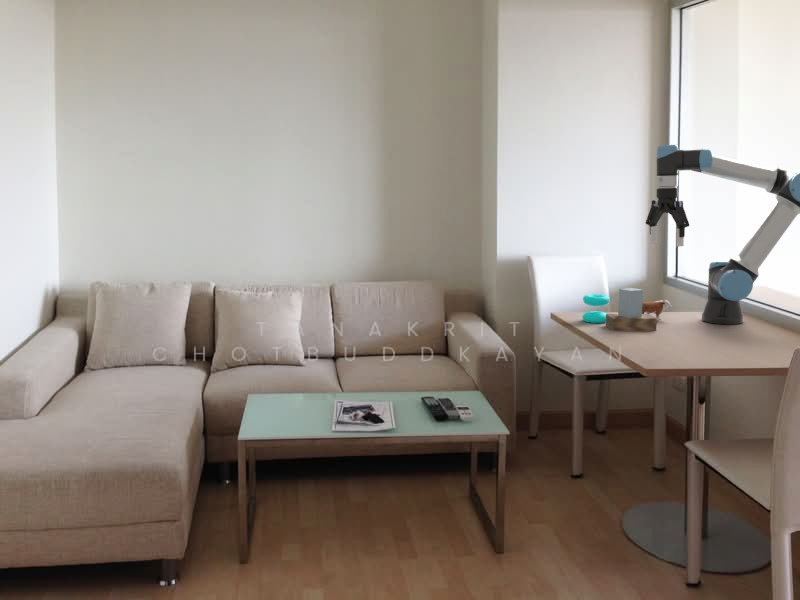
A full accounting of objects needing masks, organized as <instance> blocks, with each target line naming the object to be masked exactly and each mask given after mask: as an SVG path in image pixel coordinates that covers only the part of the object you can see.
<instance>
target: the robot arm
mask: <svg viewBox="0 0 800 600" xmlns="http://www.w3.org/2000/svg"><path fill="white" fill-rule="evenodd" d="M679 171H681V172H682V171H691V172H696V173H701V174H705V175H708V176H712V177H717V178H721V179H726V180H728V181H733V182H737V183H741V184H745V185H749V186H753V187H757V188H761V189H763V190H766V192H767V193H769V194H772V195H775V199H776V202H775V204H773V206H772V208H771V209H770V210H769V212H768V213H767V215H766V216H765V217H764V218H763V220H762V221H761V223H760V224H759V226H758V227H757V228H756V229H755V232H754V233H753V234H752V236H751V237H750V238H749V240H747V243H746V244H745V245H744V246H743V248H742V250H741V251H740V253H739V254H738V255H737V256H733V257H731V258H730V259H729V260H728V261H711V262H710V263H709V268H708V281H707V282H708V283H707V285H708V286H707V301H706V303H705V306H704V309H703V312H702V313H701V320H702V321H703V322H706V323H711V324H717V325H718V324H719V325H720V324H721V325H737V324H742V323H743V322H744V315H743V312H742V308H741V304H740V301H741V300H744V299H746V298H747V297H748V296H749V295H750V294H751V293H752V291H753V288H754V287H753V286H754V283H755V281H757V279H758V277H759V275H760V273H759V269H760V267H761V266H762V264H763V263H764V262H765V260H766V259H767V257H769V254H771V251H772V250H773V249H775V246H776V245H777V244H778V243H779V241H780V240H781V238H782V236H783V235H784V234H785V232H786V231H787V230H788V229H789V227H790V225H792V223H793V221H794V220H795V218H797V216H798V215H800V169H797V168H796V169H793V168H792V169H787V168H780V167H776V166H774V167H773V168H768V167H765V166H761V165H760V166H759V165H756V164H753V163H748V162H743V161H740V160H735V159H731V158H728V157H724V156H719V155H716V154H715V155H714V154H713V151H712V150H711V149H709V148H697V149H693V148H692V149H691V148H688V149H687V148H686V149H679V146H678V145H677V144H662V145H661V144H659V145H658V147H657V149H656V187H657V188H656V198H657V199H654V200H653V199H652V200H651V206H650V209H649V212H648V215H647V217H646V220H645V225H648V226H649V235H650V245H657V244H658V236H659V235H658V231H659V230H658V222H659V221H660V220H661V218H662V216H663V214H664V213H665V214H669V215H670V216H671V218H672V219H673V221H674V223H675V224H676V226H677V227H676V247H684V245H685V244H684V242H685V241H684V238H685V235H686V234H685V231H686V230H685V229H686V228H689V227H690V223H689V220H688V217H687V214H686V211H685V208H684V201H683V200H677V198H678V196H679V193H678V192H679V189H678V186H679Z"/></svg>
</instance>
